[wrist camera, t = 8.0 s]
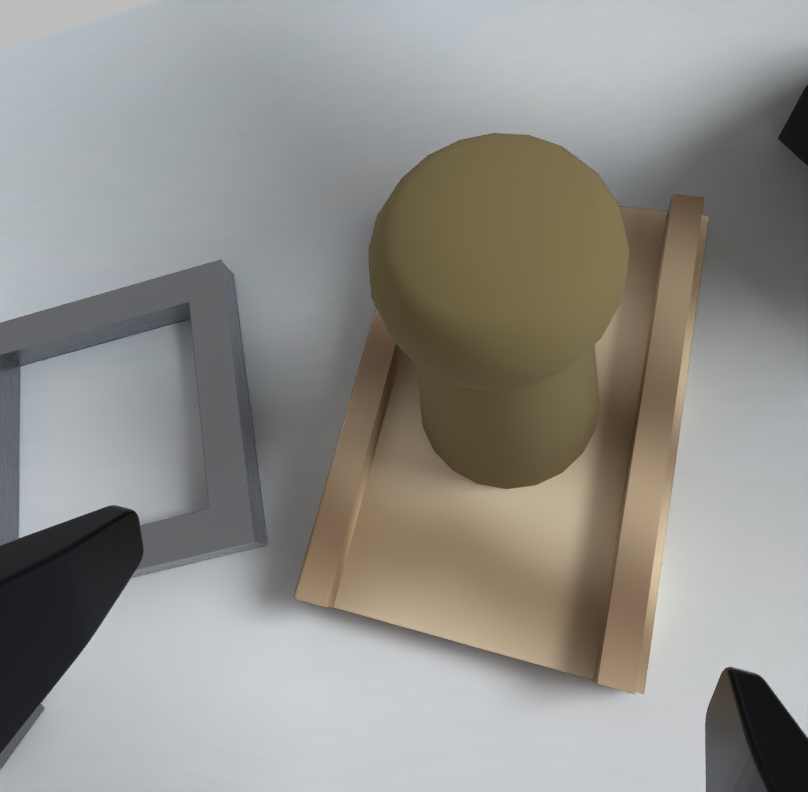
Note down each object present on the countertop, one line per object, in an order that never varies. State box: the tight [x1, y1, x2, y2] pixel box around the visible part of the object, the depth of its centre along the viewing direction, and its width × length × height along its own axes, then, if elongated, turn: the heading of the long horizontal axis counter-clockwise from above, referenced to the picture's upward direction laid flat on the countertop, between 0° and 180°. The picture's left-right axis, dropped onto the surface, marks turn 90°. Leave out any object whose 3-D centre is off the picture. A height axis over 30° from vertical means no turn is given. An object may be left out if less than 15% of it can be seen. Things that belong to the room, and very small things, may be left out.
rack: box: [294, 194, 709, 694], centre depth 22 cm, size 16×11×2 cm
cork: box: [369, 133, 629, 489], centre depth 17 cm, size 6×6×11 cm
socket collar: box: [0, 260, 267, 578], centre depth 25 cm, size 11×11×1 cm
